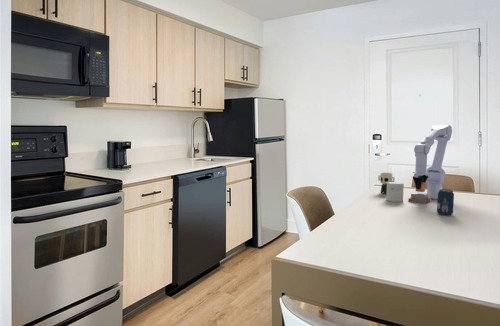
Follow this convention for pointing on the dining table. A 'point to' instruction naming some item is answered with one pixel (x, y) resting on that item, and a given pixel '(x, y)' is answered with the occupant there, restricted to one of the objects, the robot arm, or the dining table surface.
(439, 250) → the dining table surface
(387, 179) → the big headed toy figurine
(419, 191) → the orange round piece
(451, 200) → the soda can
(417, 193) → the grey top slab
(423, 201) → the walnut base slab
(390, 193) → the small box
